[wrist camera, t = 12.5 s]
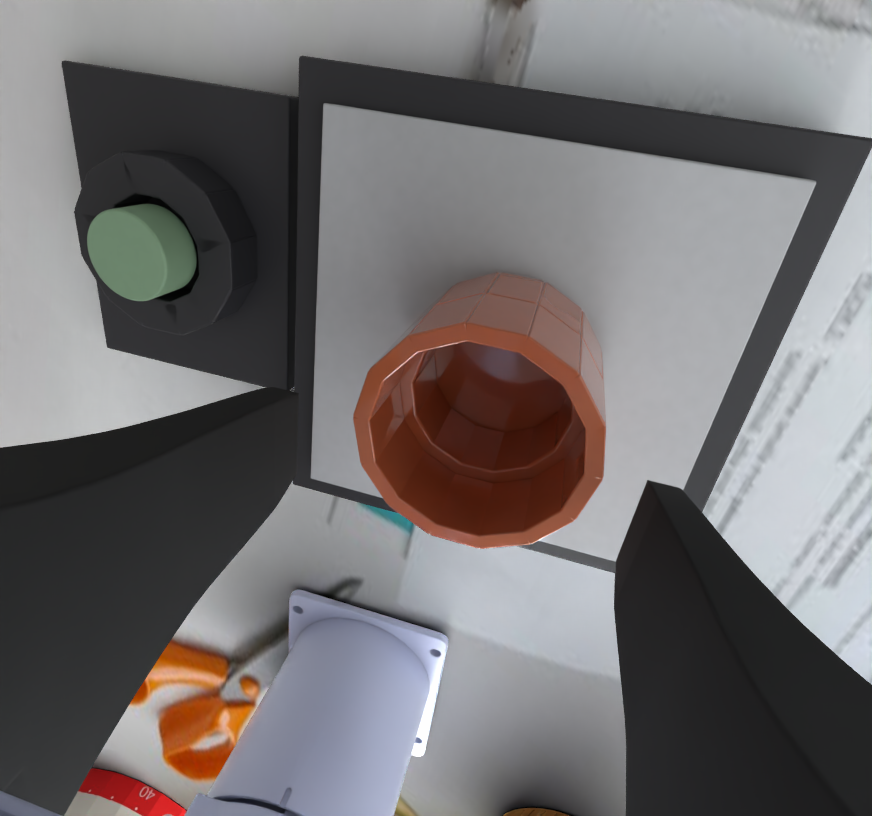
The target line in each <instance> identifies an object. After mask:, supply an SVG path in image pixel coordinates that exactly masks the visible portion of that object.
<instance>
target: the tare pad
mask: <svg viewBox="0 0 872 816" xmlns="http://www.w3.org/2000/svg"><path fill="white" fill-rule="evenodd" d="M62 68H63V75H64V81H65V87H66V93H67V100H68V106H69V112H70V118H71V125H72V131H73V137H74V143H75V150H76V156H77V162H78V168H79V175H80V181H81V187H82V189H81V192H80V195H79V198H78V201H77V204H76V207H75V211H74V213H75V219H76V225H77V231H78V237H79V243H80V248H81V254H82V256H83V259H84V260H85V262H86V264H87V265H88V267H89V269H90V270H91V272H92V274H93V275H94V277H95V279H96V281H97V287H98V293H99V300H100V306H101V312H102V318H103V325H104V331H105V337H106V343H107V347H108V348H110V349H115V350H119V351H123V352H127V353H131V354H135V355H139V356H143V357H147V358H151V359H155V360H159V361H163V362H167V363H171V364H175V365H179V366H183V367H187V368H191V369H195V370H199V371H203V372H207V373H211V374H215V375H219V376H223V377H227V378H231V379H235V380H239V381H243V382H247V383H251V384H255V385H259V386H263V387H267V388H268V387H276V388H280V389H284V390H288V391H289V390H291V389H292V388H293V387H294V380H295V313H296V246H297V179H298V112H299V97H295V96H288V95H282V94H276V93H269V92H263V91H256V90H250V89H244V88H237V87H231V86H225V85H218V84H212V83H206V82H199V81H193V80H187V79H180V78H174V77H168V76H161V75H155V74H149V73H142V72H136V71H130V70H123V69H117V68H111V67H104V66H98V65H92V64H85V63H79V62H71V61H62ZM140 204H155V205H158V206H161V207H163V208H165V209H167V210H169V211H171V212H172V213H173V214H175V215H176V216H177V217H178V218H179V219H180V220H181V221H182V222H183V224H184V225H185V226H186V228H187V229H188V231H189V233H190V235H191V237H192V239H193V242H194V245H195V249H196V255H197V263H196V269H195V272H194V275H193V277H192V278H191V280H190V281H189V282H188V284H186V285H185V286H184V287H182V288H180V289H177V290H175V291H172V292H170V293H167V294H164V295H162V296H159V297H156V298H154V299H151V300H148V301H134V300H130V299H127V298H124V297H122V296H120V295H119V294H117V293H116V292H114V291H113V290H112V289H110V288H109V287H108V286H107V285H106V284H105V283H104V282H103V280H102V279H101V278H100V276H99V275H98V273H97V272H96V270H95V268H94V266H93V264H92V262H91V259H90V256H89V252H88V246H87V235H88V230H89V227H90V224H91V222H92V221H93V219H94V218H95V217H96V216H97V215H98V214H100V213H101V212H103V211H105V210H109V209H114V208H121V207H127V206H133V205H140Z"/></svg>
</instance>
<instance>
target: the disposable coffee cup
mask: <svg viewBox="0 0 872 816" xmlns="http://www.w3.org/2000/svg"><path fill="white" fill-rule="evenodd" d="M503 816H569V815H567V814H564V813H561V812H558V811H553V810H548V809H542V808H521V809H516V810H512V811H510V812H508V813H505V814H504V815H503Z"/></svg>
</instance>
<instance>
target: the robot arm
mask: <svg viewBox="0 0 872 816" xmlns="http://www.w3.org/2000/svg"><path fill="white" fill-rule="evenodd" d="M298 407H299V393H296V392H292V391H288V390H284V389H280V388H276V387H268V388H262V389H258V390H254V391H251V392H247V393H243V394H240V395H237V396H233V397H230V398H227V399H224V400H220V401H217V402H214V403H210V404H207V405H204V406H201V407H197V408H194V409H191V410H187V411H184V412H181V413H177V414H173V415H170V416H166V417H162V418H158V419H155V420H151V421H147V422H144V423H140V424H136V425H132V426H128V427H124V428H120V429H115V430H111V431H106V432H101V433H96V434H91V435H85V436H80V437H75V438H69V439H63V440H57V441H49V442H41V443H34V444H26V445H18V446H11V447H3V448H0V816H64V815H65V813H66V812H67V810H68V808H69V806H70V804H71V803H72V801H73V799H74V797H75V796H76V794H77V792H78V790H79V789H80V787H81V785H82V783H83V782H84V780H85V778H86V776H87V774H88V773H89V771H90V769H91V767H92V766H93V764H94V762H95V760H96V759H97V757H98V755H99V753H100V752H101V750H102V748H103V747H104V745H105V743H106V742H107V740H108V738H109V737H110V735H111V733H112V732H113V730H114V728H115V727H116V725H117V724H118V722H119V720H120V719H121V717H122V715H123V714H124V712H125V710H126V709H127V707H128V705H129V704H130V702H131V700H132V699H133V697H134V696H135V694H136V692H137V691H138V689H139V688H140V686H141V685H142V683H143V682H144V680H145V678H146V677H147V675H148V674H149V672H150V671H151V669H152V668H153V666H154V665H155V663H156V661H157V660H158V658H159V657H160V655H161V654H162V652H163V651H164V649H165V648H166V646H167V645H168V643H169V642H170V640H171V639H172V637H173V636H174V634H175V633H176V631H177V630H178V629H179V627H180V626H181V624H182V623H183V621H184V620H185V618H186V617H187V615H188V614H189V613H190V611H191V610H192V608H193V607H194V605H195V604H196V603H197V601H198V600H199V599H200V598H201V596H202V595H203V594H204V593H205V591H206V590H207V589H208V587H209V586H210V585H211V584H212V583H213V582H214V580H215V579H216V578H217V577H218V576H219V574H220V573H221V572H222V571H223V570H224V569H225V567H226V566H227V565H228V564H229V563H230V562H231V560H232V559H233V558H234V557H235V556H236V555H237V553H238V552H239V551H240V550H241V549H242V548H243V546H244V545H245V544H246V543H247V542H248V541H249V539H250V538H251V537H252V536H253V535H254V533H255V532H256V531H257V530H258V529H259V527H260V526H261V525H262V524H263V523H264V521H265V520H266V519H267V518H268V517H269V515H270V514H271V513H272V512H273V510H274V509H275V508H276V506H277V505H278V503H279V501H280V500H281V498H282V497H283V495H284V494H285V492H286V491H287V489H288V487H289V485H290V484H291V482H292V480H293V479H294V477H295V475H296V474H297V450H298ZM614 611H615V623H616V634H617V645H618V655H619V665H620V675H621V685H622V695H623V705H624V715H625V731H626V816H872V685H871V684H870V683H869V682H867V681H866V680H865V679H864V678H863V677H862V676H860V675H859V674H858V673H857V672H856V671H854V670H853V669H852V668H851V667H850V666H849V665H847V664H846V663H845V662H844V661H843V660H842V659H840V658H839V657H838V656H837V655H836V654H835V653H834V652H833V651H832V650H831V649H829V648H828V647H827V646H826V645H825V644H824V643H823V642H822V641H821V640H820V639H818V638H817V637H816V636H815V635H814V634H813V633H812V632H811V631H810V630H809V629H807V628H806V627H805V626H804V625H803V624H802V623H801V622H800V621H799V620H798V619H797V618H796V617H795V616H794V615H793V614H792V613H791V612H790V611H789V610H788V609H787V608H786V607H785V606H784V605H783V604H782V603H781V602H780V601H779V600H778V599H777V598H776V597H775V596H774V595H773V593H772V592H771V591H770V590H769V589H768V588H767V587H766V586H765V585H764V584H763V583H762V582H761V581H760V580H759V579H758V578H757V577H756V575H755V574H754V573H753V572H752V571H751V570H750V569H749V568H748V567H747V565H746V564H745V563H744V562H743V561H742V560H741V559H740V557H739V556H738V555H737V554H736V553H735V552H734V550H733V549H732V548H731V547H730V546H729V545H728V543H727V542H726V541H725V540H724V539H723V538H722V536H721V535H720V534H719V533H718V532H717V530H716V529H715V528H714V527H713V525H712V524H711V523H710V522H709V521H708V519H707V518H706V517H705V516H704V515H703V513H702V512H701V511H700V510H699V508H698V507H697V506H696V505H695V504H694V502H693V501H692V500H691V499H690V498H689V497H688V496H687V494H686V493H685V492H684V491H683V490H682V489H681V488H678V487H674V486H670V485H666V484H662V483H658V482H654V481H650V480H647V482H646V485H645V488H644V490H643V493H642V495H641V498H640V500H639V503H638V505H637V508H636V511H635V513H634V516H633V518H632V521H631V523H630V526H629V528H628V531H627V534H626V536H625V539H624V541H623V544H622V546H621V549H620V551H619V554H618V557H617V559H616V571H615V593H614ZM448 644H449V640H448V638H447V637H446V636H445V635H444V634H442V633H440V632H437V631H433V630H430V629H427V628H424V627H420V626H417V625H414V624H411V623H407V622H404V621H401V620H398V619H394V618H391V617H388V616H385V615H381V614H378V613H375V612H372V611H368V610H365V609H362V608H359V607H355V606H352V605H349V604H346V603H342V602H339V601H336V600H333V599H329V598H326V597H323V596H320V595H316V594H313V593H310V592H307V591H303V590H294V591H293V592H292V594H291V595H290V598H289V651H288V656H287V658H286V660H285V661H284V663H283V665H282V666H281V668H280V670H279V672H278V673H277V675H276V677H275V678H274V680H273V682H272V684H271V685H270V687H269V689H268V690H267V692H266V694H265V696H264V697H263V699H262V701H261V703H260V704H259V706H258V708H257V709H256V711H255V713H254V715H253V716H252V718H251V720H250V721H249V723H248V725H247V727H246V728H245V730H244V732H243V734H242V735H241V737H240V739H239V740H238V742H237V744H236V746H235V747H234V749H233V751H232V752H231V754H230V756H229V758H228V759H227V761H226V763H225V765H224V766H223V768H222V770H221V771H220V773H219V775H218V777H217V778H216V780H215V782H214V783H213V785H212V787H211V789H210V790H209V792H208V794H207V796H206V795H204V794H201V793H198V794H197V795H196V796H195V798H194V800H193V801H192V803H191V805H190V807H189V808H188V810H187V812H186V813H185V815H184V816H394V812H395V809H396V805H397V802H398V799H399V795H400V792H401V788H402V785H403V781H404V778H405V774H406V771H407V767H408V764H409V761H410V757H411V755H413V756H422V755H424V753H425V749H426V745H427V740H428V736H429V731H430V727H431V722H432V717H433V713H434V708H435V704H436V699H437V694H438V690H439V685H440V681H441V676H442V672H443V667H444V662H445V658H446V653H447V649H448ZM436 649H437V650H436ZM163 816H173V815H171V814H165V815H163Z"/></svg>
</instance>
